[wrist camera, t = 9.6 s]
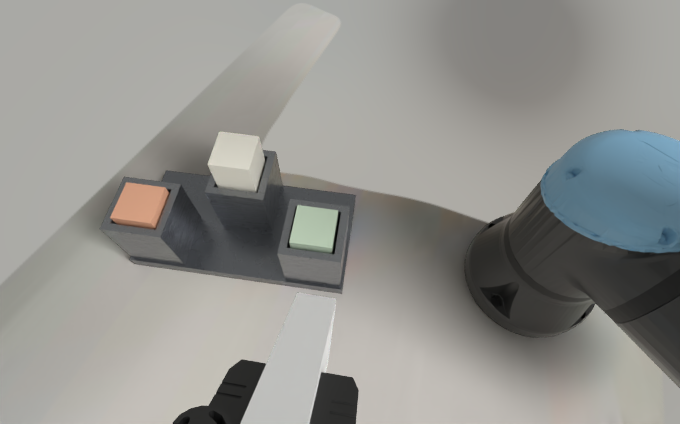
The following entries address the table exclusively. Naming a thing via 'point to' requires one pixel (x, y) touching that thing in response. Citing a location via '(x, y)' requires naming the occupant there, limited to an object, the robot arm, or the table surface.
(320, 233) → the sage button
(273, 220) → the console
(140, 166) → the table surface
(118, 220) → the terracotta button
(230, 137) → the ivory button
